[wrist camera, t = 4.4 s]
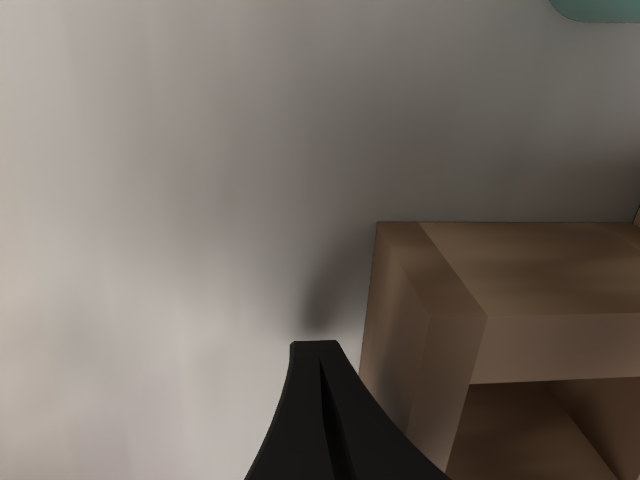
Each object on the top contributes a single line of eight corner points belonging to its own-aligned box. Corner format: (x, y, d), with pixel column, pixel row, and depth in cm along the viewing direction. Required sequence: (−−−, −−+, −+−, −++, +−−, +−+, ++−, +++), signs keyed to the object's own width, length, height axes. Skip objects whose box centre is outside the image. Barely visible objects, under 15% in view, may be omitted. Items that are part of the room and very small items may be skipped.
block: (631, 222, 14) (784, 309, 10) (554, 409, 17) (642, 528, 13) (377, 222, 13) (429, 318, 9) (353, 419, 16) (382, 552, 12)
